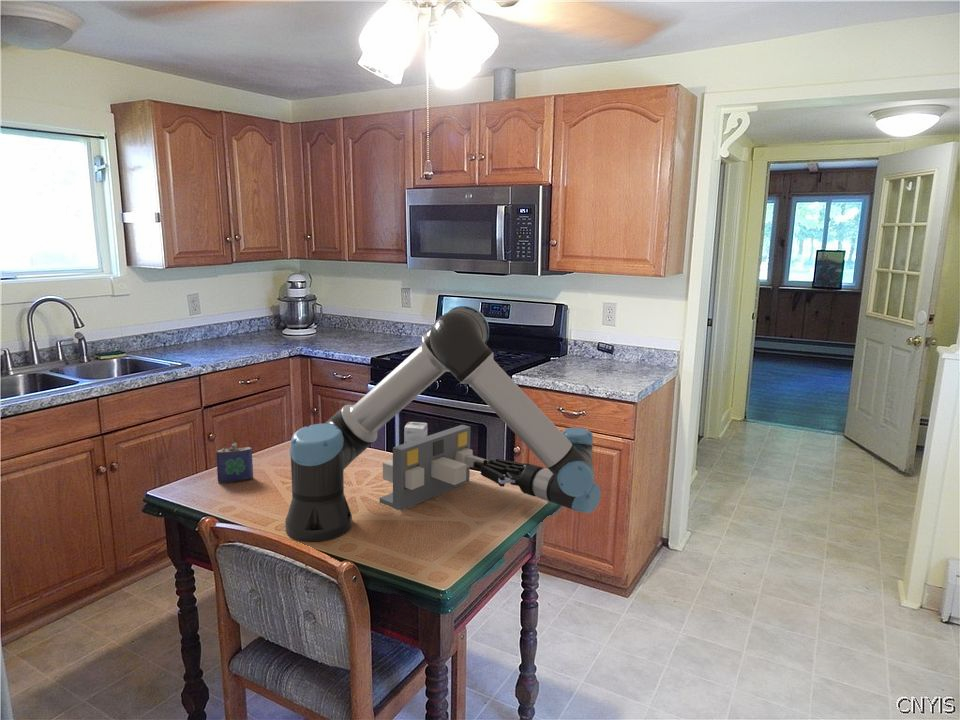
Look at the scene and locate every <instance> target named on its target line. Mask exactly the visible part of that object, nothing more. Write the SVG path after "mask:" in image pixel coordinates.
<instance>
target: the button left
mask: <svg viewBox="0 0 960 720" xmlns="http://www.w3.org/2000/svg"><path fill="white" fill-rule="evenodd" d="M382 479H383V480H384V481H387V482H389V483H391V484H393V458H392V459H390V460H386V461H384V462H382ZM423 485H424V468H422V467H419V466H413V467H411V468H408V469H405V470H404V487H405V488H408V489H410V490H413V489H415V488H418V487H420V486H423Z"/></svg>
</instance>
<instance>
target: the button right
mask: <svg viewBox="0 0 960 720" xmlns="http://www.w3.org/2000/svg"><path fill="white" fill-rule="evenodd" d="M473 452H474V450H473V449H471V448H470V449H468V448H462V449H459V450H457V451H455V461H458V462H461V463H464V464H466V456H467V455H473V456H474V453H473ZM467 467H469V466H467V465H466V468H467Z"/></svg>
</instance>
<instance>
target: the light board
mask: <svg viewBox="0 0 960 720" xmlns="http://www.w3.org/2000/svg"><path fill="white" fill-rule="evenodd" d="M471 431H472V429H471V426H468V425H466V424H460V425H458V426H457V425H456V426H454V427H451V428H448V429H444V430H441V431H439V432H436V433H432V434H429V435H427V436H426V437H423V438H420V439H417V440H414V441H411V442H408V443H405V444H404V443H403V444H402V443H401V444H398V445H396V446H393V447H392V459H393V483H392V492H391V493H388V494H385V495H383V496H380V497H378V498H379V503H381V504H383V505H385V504H386V505H385V506H387V505H388V506H387V507H390V508H393V509H395V510H397V511H400V512H403V511H406V510H408V509H409V508H412V507H414V506H416V504H417V505H419V504H421V503H424V502H426V501H428V500H430V499H433V498H435V497H437V496H439V495H442V494H444V493H446V492H448V491H451V490H453V489H456V488H458V487H460V486H463V485H464V484H467V483H470V478H471V477H470V475H471V474H470V472H471V470H470V468H471V467H470V466H469V467H467V468H466V481H463V482H461V483H459V484H456V485H453V484H450V483H447V482H444V481H442V480H439V479H436V478H433V477H431V460H432V459H435V458H438V457H440V456H442V457H446V458H449V459H452V460H455V451H457V450H459V449H462V448H468V449H471ZM413 466H419V467H422V468H424V485H423V486H420V487H418V488H415V489H413V490H410V489H408V488H405V487H404V470H405V469H408V468H411V467H413ZM432 497H433V498H432ZM425 500H426V501H425ZM418 503H419V504H418Z"/></svg>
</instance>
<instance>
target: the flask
mask: <svg viewBox="0 0 960 720" xmlns="http://www.w3.org/2000/svg"><path fill="white" fill-rule="evenodd" d="M237 445H238V443H235V442H233V443H232V444H231V446H230V447H229V448H228V447H227V448H224V447H223V448H222V449H219V450H216V454H215V456H216V469H217V470H216V471H217V472H216V473H217V481H218V484H234V483H239V482H241V483H242V482H247V481H250V480H253V478H254V465H253V462H254V461H253V448H252V447H250V446H247V447H240V448H238V447H237Z"/></svg>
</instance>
